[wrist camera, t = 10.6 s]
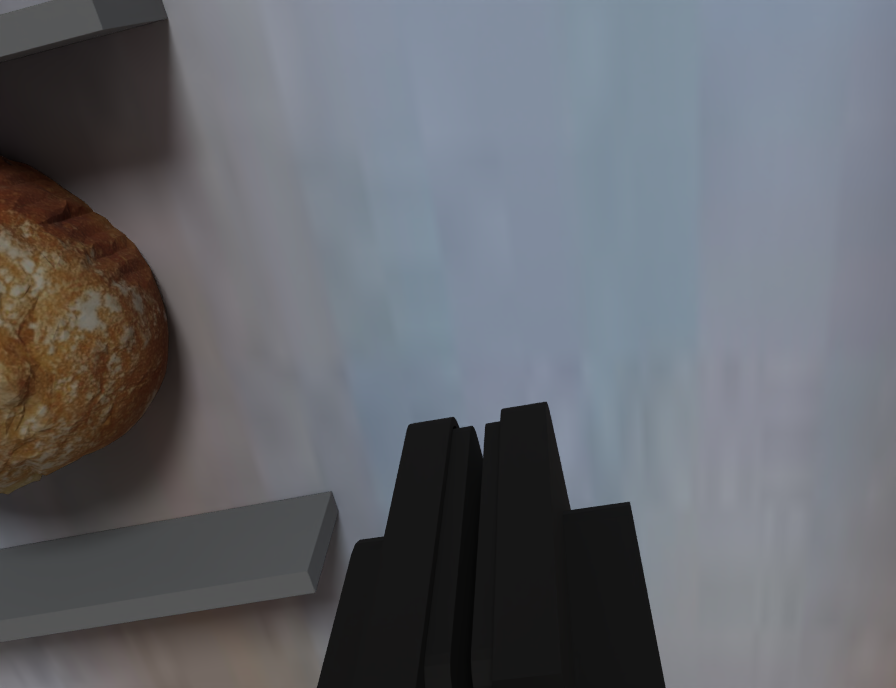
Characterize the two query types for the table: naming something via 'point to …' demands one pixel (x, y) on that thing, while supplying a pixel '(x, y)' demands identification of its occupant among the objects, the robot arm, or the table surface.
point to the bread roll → (69, 329)
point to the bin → (165, 542)
